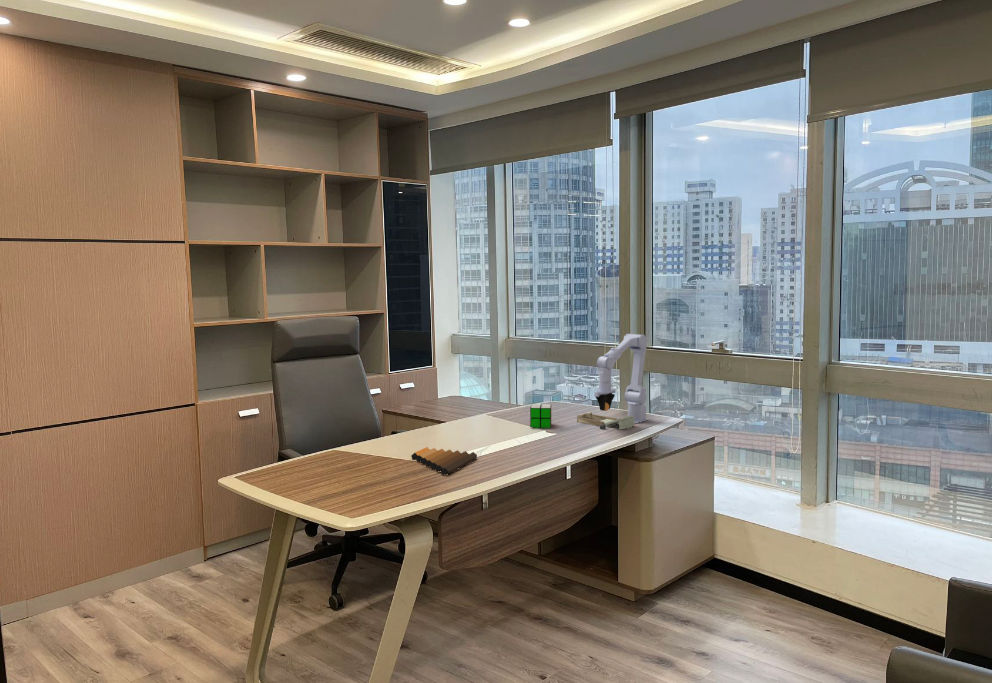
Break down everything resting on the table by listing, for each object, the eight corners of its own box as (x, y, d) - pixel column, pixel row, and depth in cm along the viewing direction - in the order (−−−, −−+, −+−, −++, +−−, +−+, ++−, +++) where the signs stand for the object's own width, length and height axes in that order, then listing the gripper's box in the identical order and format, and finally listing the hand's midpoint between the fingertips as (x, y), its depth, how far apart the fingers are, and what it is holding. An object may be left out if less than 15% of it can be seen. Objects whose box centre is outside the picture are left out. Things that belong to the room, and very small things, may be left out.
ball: (604, 409, 340) (604, 401, 340) (610, 410, 337) (610, 402, 337) (599, 410, 337) (599, 402, 337) (606, 412, 335) (606, 403, 334)
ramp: (607, 421, 353) (607, 410, 353) (633, 426, 343) (634, 415, 342) (595, 425, 346) (595, 413, 346) (622, 429, 335) (622, 418, 335)
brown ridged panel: (448, 476, 262) (477, 460, 284) (448, 468, 261) (477, 452, 284) (391, 469, 272) (423, 454, 294) (391, 461, 271) (423, 446, 294)
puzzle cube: (551, 424, 350) (551, 404, 349) (550, 428, 340) (550, 408, 339) (531, 423, 351) (531, 404, 350) (530, 428, 341) (530, 407, 340)
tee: (601, 427, 340) (601, 424, 340) (606, 428, 338) (606, 425, 338) (598, 428, 338) (598, 425, 338) (603, 429, 336) (603, 426, 336)
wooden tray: (590, 418, 361) (590, 412, 361) (616, 423, 350) (616, 416, 350) (577, 422, 353) (577, 415, 353) (603, 426, 342) (603, 419, 342)
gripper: (607, 378, 344) (607, 406, 345) (589, 382, 334) (589, 410, 335) (619, 380, 339) (619, 408, 340) (601, 384, 329) (601, 412, 330)
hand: (605, 409), depth 337 cm, fingers closed on ball, 4 cm apart
